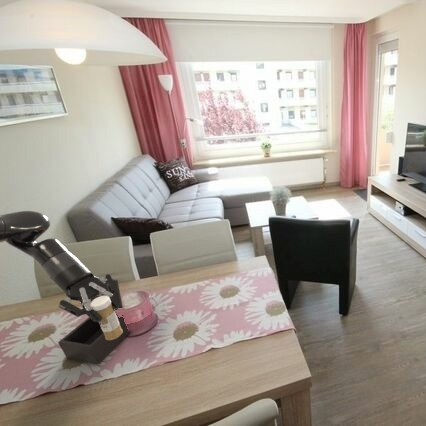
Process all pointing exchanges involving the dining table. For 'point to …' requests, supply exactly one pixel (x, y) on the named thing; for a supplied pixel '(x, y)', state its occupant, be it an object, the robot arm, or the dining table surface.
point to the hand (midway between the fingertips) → (109, 314)
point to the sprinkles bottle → (107, 317)
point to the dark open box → (90, 342)
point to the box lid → (116, 295)
